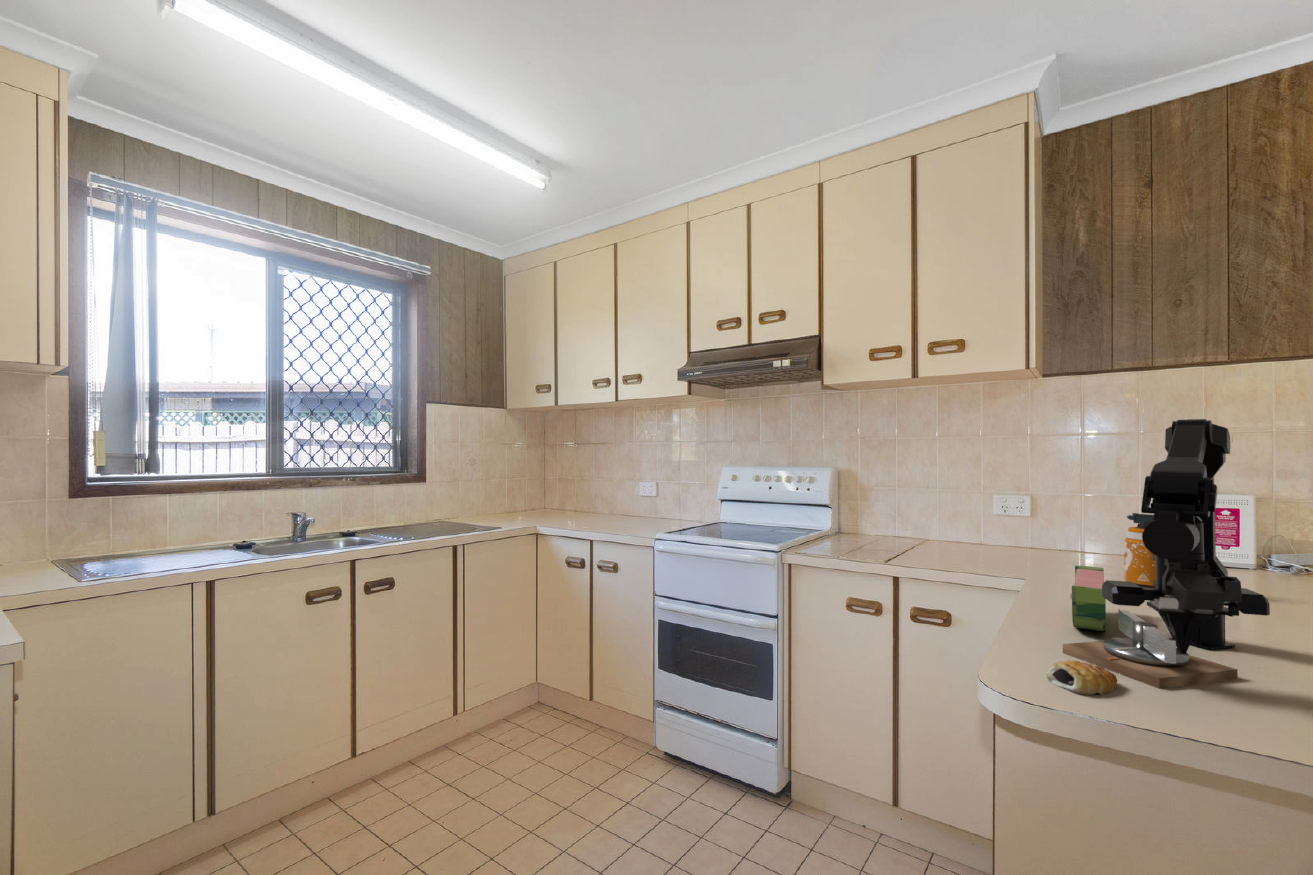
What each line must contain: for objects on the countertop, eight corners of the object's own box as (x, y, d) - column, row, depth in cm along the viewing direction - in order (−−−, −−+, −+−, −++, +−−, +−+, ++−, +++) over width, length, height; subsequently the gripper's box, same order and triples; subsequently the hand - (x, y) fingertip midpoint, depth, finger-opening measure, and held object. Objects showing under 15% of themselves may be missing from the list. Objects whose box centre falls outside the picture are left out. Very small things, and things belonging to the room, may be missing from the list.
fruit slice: (1073, 609, 134) (1072, 564, 134) (1108, 613, 130) (1107, 568, 130) (1069, 638, 113) (1068, 585, 113) (1110, 645, 109) (1110, 590, 109)
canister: (1122, 586, 157) (1121, 510, 157) (1176, 591, 151) (1176, 512, 152) (1127, 593, 149) (1126, 513, 150) (1185, 599, 144) (1184, 515, 144)
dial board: (1133, 645, 109) (1133, 636, 109) (1237, 679, 93) (1237, 668, 93) (1062, 652, 105) (1062, 643, 105) (1159, 688, 89) (1159, 677, 89)
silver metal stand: (1198, 652, 100) (1197, 622, 100) (1178, 675, 90) (1178, 642, 90) (1117, 636, 109) (1116, 608, 109) (1090, 656, 98) (1090, 625, 98)
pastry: (1088, 676, 95) (1088, 651, 95) (1132, 693, 88) (1132, 667, 88) (1041, 682, 92) (1041, 657, 92) (1083, 700, 86) (1083, 673, 86)
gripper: (1124, 556, 88) (1127, 663, 87) (1291, 564, 81) (1295, 680, 80) (1099, 545, 98) (1102, 640, 98) (1246, 551, 91) (1249, 654, 91)
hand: (1182, 653), depth 91 cm, fingers closed
